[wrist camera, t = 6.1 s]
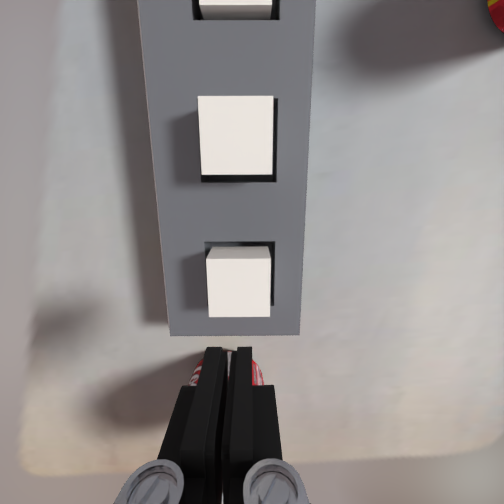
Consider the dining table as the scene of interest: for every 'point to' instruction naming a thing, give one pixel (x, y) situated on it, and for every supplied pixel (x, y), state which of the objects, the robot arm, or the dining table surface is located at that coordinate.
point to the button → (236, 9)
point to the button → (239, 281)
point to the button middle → (236, 135)
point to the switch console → (228, 186)
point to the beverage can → (497, 12)
